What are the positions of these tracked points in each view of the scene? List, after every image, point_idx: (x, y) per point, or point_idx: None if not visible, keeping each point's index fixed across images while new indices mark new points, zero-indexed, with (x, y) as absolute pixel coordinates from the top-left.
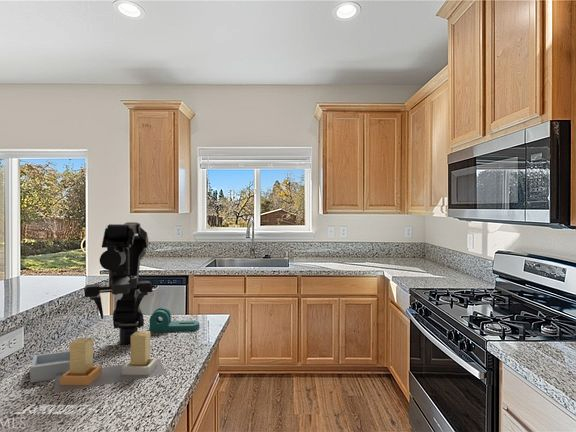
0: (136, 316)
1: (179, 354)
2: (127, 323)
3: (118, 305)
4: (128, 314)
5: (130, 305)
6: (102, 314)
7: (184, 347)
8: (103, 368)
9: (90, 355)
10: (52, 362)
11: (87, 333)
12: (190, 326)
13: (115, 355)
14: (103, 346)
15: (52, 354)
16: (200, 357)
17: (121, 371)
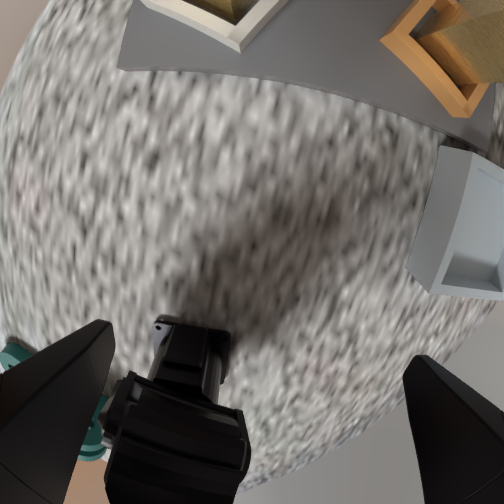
0: (126, 407)
1: (42, 148)
2: (182, 403)
3: (219, 501)
4: (168, 436)
5: (147, 481)
6: (442, 376)
7: (22, 216)
8: (364, 85)
9: (468, 11)
10: (473, 259)
11: (278, 455)
12: (14, 355)
13: (260, 272)
14: (272, 375)
15: (477, 288)
16: (8, 91)
17: (305, 7)
